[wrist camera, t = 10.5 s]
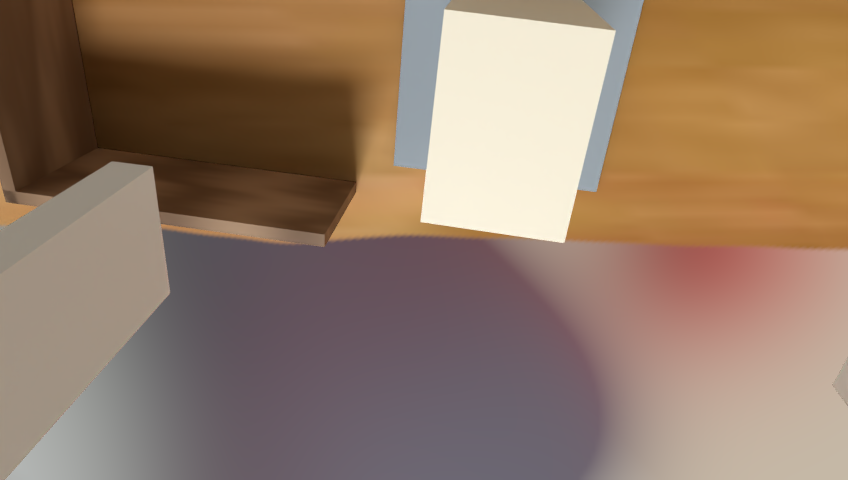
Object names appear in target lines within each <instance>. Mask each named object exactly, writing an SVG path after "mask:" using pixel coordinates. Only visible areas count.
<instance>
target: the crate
mask: <svg viewBox="0 0 848 480" xmlns="http://www.w3.org/2000/svg"><path fill="white" fill-rule="evenodd" d="M112 161H114V162H121V163H129V164H137V165H145V166H153V173H154V180H155V187H156V194H157V201H158V209H159V216H160V223H161V224H165V225H172V226H179V227H187V228H194V229H201V230H208V231H215V232H222V233H229V234H236V235H244V236H251V237H258V238H265V239H272V240H279V241H286V242H293V243H300V244H308V245H315V246H322V247H325V245H326V243H327V242H328V240H329V238H330V236H331V235H332V233H333V231H334V230H335V228H336V226H337V224H338V223H339V221H340V219H341V217H342V216H343V214H344V212H345V210H346V209H347V207H348V205H349V203H350V202H351V200H352V198H353V196H354V195H355V193H356V182H350V181H343V180H335V179H328V178H320V177H313V176H305V175H298V174H290V173H283V172H275V171H268V170H260V169H253V168H245V167H238V166H230V165H222V164H215V163H207V162H200V161H192V160H185V159H177V158H170V157H162V156H155V155H147V154H140V153H132V152H125V151H117V150H110V149H102V148H98V147H97V141H96V135H95V130H94V124H93V119H92V113H91V107H90V102H89V96H88V90H87V85H86V79H85V73H84V68H83V62H82V57H81V51H80V45H79V40H78V34H77V28H76V23H75V17H74V11H73V6H72V0H0V181H1V185H2V189H3V193H4V196H5V200H6V202H9V203H16V204H23V205H30V206H37V207H39V206H40V205H42V204H44V203H45V202H47V201H48V200H50V199H52V198H53V197H55V196H57V195H58V194H60V193H61V192H63V191H65V190H66V189H68V188H70V187H71V186H73V185H74V184H76V183H78V182H79V181H81V180H82V179H84V178H86V177H87V176H89V175H91V174H92V173H94V172H95V171H97V170H99V169H100V168H102V167H104V166H105V165H107V164H108V163H110V162H112Z"/></svg>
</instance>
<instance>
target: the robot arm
mask: <svg viewBox="0 0 848 480" xmlns="http://www.w3.org/2000/svg"><path fill="white" fill-rule="evenodd" d="M169 294H170V288H169V281H168V274H167V266H166V259H165V252H164V245H163V238H162V230H161V223H160V216H159V209H158V201H157V194H156V187H155V180H154V173H153V166H145V165H137V164H129V163H121V162H114V161H112V162H110V163H108V164H107V165H105V166H104V167H102V168H100V169H99V170H97V171H95V172H94V173H92V174H91V175H89V176H87V177H86V178H84V179H82V180H81V181H79V182H78V183H76V184H74V185H73V186H71V187H70V188H68V189H66V190H65V191H63V192H61V193H60V194H58V195H57V196H55V197H53V198H52V199H50V200H48V201H47V202H45V203H44V204H42V205H40V206H39V207H37V208H36V209H34V210H32V211H31V212H29V213H27V214H26V215H24V216H23V217H21V218H19V219H18V220H16V221H14V222H13V223H11V224H10V225H8V226H6V227H5V228H3V229H1V230H0V480H5V479H6V478H7V477H8V476H9V475H10V474H11V472H12V471H13V470H14V469H15V468H16V467H17V465H18V464H19V463H20V462H21V461H22V460H23V459H24V458H25V457H26V455H27V454H28V453H29V452H30V451H31V450H32V449H33V448H34V446H35V445H36V444H37V443H38V442H39V441H40V440H41V438H42V437H43V436H44V435H45V434H46V433H47V432H48V431H49V429H50V428H51V427H52V426H53V425H54V424H55V423H56V422H57V420H58V419H59V418H60V417H61V416H62V415H63V414H64V412H65V411H66V410H67V409H68V408H69V407H70V406H71V405H72V403H73V402H74V401H75V400H76V399H77V398H78V397H79V396H80V394H81V393H82V392H83V391H84V390H85V388H87V386H88V385H89V384H90V383H91V382H92V381H93V380H94V379H95V377H96V376H97V375H98V374H99V373H100V372H101V371H102V369H103V368H104V367H105V366H106V365H107V364H108V363H109V362H110V360H111V359H112V358H113V357H114V356H115V355H116V354H117V353H118V351H119V350H120V349H121V348H122V347H123V346H124V345H125V344H126V342H127V341H128V340H129V339H130V338H131V337H132V335H133V334H134V333H135V332H136V331H137V330H138V329H139V328H140V326H141V325H142V324H143V323H144V322H145V321H146V320H147V319H148V317H149V316H150V315H151V314H152V313H153V312H154V311H155V310H156V308H157V307H158V306H159V305H160V304H161V303H162V302H163V301H164V299H165V298H166V297H167V296H168V295H169ZM833 387H834V388H835V389H836V391H837V392H838V394H839V395H840V396H841V398H842V399H843V400H844V402H845V403H846V405H847V406H848V358H847V359H846V361H845V363H844V365H843V367H842V369H841V370H840V372H839V374H838V376H837V378H836V379H835V381H834V383H833Z"/></svg>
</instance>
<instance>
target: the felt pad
mask: <svg viewBox="0 0 848 480" xmlns="http://www.w3.org/2000/svg"><path fill="white" fill-rule="evenodd" d="M450 1H451V0H405V14H404V28H403V43H402V57H401V71H400V85H399V99H398V113H397V127H396V141H395V155H394V166H401V167H409V168H416V169H424V170H426V169H427V160H428V151H429V142H430V133H431V124H432V115H433V106H434V97H435V88H436V79H437V70H438V61H439V52H440V43H441V34H442V25H443V16H444V9H445V8H446V6H447V5H448V4H449V3H450ZM583 1H584V2H585V3H586V4H587V5H588V6H589V7H590V8H591V9H593V10H594V11H595V12H596V13H597V14H598V15H599V16H600V17H601V18H602V19H604V20H605V21H606V22H607V23H608V24H609V25H610V26H611V27H612V28H614V29H615V30H616V32H615V37H614V41H613V45H612V49H611V53H610V57H609V61H608V65H607V69H606V74H605V78H604V82H603V86H602V90H601V94H600V98H599V102H598V106H597V110H596V115H595V119H594V123H593V127H592V131H591V135H590V139H589V143H588V147H587V151H586V156H585V160H584V164H583V168H582V172H581V176H580V180H579V184H578V188H577V190H585V191H593V192H596V191H597V187H598V183H599V179H600V175H601V171H602V166H603V162H604V158H605V154H606V150H607V146H608V142H609V138H610V134H611V130H612V126H613V122H614V118H615V114H616V110H617V106H618V102H619V98H620V94H621V90H622V86H623V82H624V78H625V74H626V70H627V66H628V62H629V58H630V54H631V50H632V46H633V41H634V37H635V33H636V29H637V25H638V21H639V17H640V13H641V9H642V5H643V1H644V0H583Z"/></svg>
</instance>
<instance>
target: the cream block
mask: <svg viewBox="0 0 848 480" xmlns="http://www.w3.org/2000/svg"><path fill="white" fill-rule="evenodd" d="M615 32H616V30H615V29H614V28H612V27H611V26H610V25H609V24H608V23H607V22H606V21H605V20H604V19H602V18H601V17H600V16H599V15H598V14H597V13H596V12H595V11H594V10H593V9H591V8H590V7H589V6H588V5H587V4H586V3H585V2H584V1H583V0H451V1H450V3H449V4H448V5H447V6H446V8H445V9H444V16H443V25H442V34H441V43H440V52H439V61H438V70H437V79H436V88H435V97H434V106H433V115H432V124H431V133H430V142H429V151H428V160H427V169H426V178H425V187H424V196H423V205H422V214H421V222H425V223H431V224H438V225H445V226H452V227H459V228H466V229H472V230H479V231H486V232H493V233H500V234H506V235H513V236H520V237H527V238H534V239H541V240H547V241H554V242H561V243H564V242H565V238H566V233H567V229H568V225H569V221H570V217H571V213H572V209H573V205H574V201H575V197H576V192H577V188H578V184H579V180H580V176H581V172H582V168H583V164H584V160H585V156H586V151H587V147H588V143H589V139H590V135H591V131H592V127H593V123H594V119H595V115H596V110H597V106H598V102H599V98H600V94H601V90H602V86H603V82H604V78H605V74H606V69H607V65H608V61H609V57H610V53H611V49H612V45H613V41H614V37H615Z"/></svg>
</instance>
